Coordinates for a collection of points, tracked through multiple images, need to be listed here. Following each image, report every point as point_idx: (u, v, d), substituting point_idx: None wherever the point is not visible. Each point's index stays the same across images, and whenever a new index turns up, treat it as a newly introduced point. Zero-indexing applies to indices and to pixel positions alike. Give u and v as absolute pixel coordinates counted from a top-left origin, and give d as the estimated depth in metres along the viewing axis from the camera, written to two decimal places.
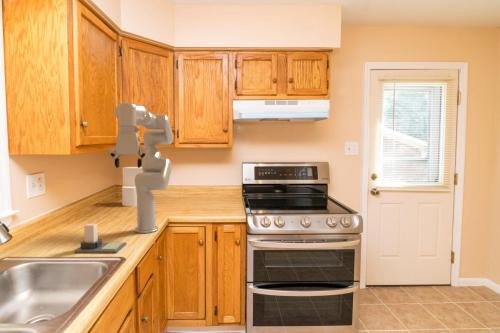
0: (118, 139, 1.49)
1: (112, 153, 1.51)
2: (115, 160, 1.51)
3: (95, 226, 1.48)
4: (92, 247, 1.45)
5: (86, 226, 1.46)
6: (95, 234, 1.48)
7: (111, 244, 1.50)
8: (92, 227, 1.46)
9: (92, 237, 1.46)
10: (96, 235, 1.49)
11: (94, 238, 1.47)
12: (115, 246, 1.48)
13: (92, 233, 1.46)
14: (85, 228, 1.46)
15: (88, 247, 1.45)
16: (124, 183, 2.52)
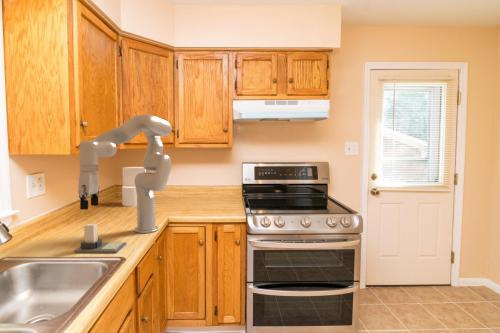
0: (90, 179, 1.43)
1: (83, 195, 1.40)
2: (85, 202, 1.41)
3: (95, 226, 1.48)
4: (92, 247, 1.45)
5: (86, 226, 1.46)
6: (95, 234, 1.48)
7: (111, 244, 1.50)
8: (92, 227, 1.46)
9: (92, 237, 1.46)
10: (96, 235, 1.49)
11: (94, 238, 1.47)
12: (115, 246, 1.48)
13: (92, 233, 1.46)
14: (85, 228, 1.46)
15: (88, 247, 1.45)
16: (124, 183, 2.52)
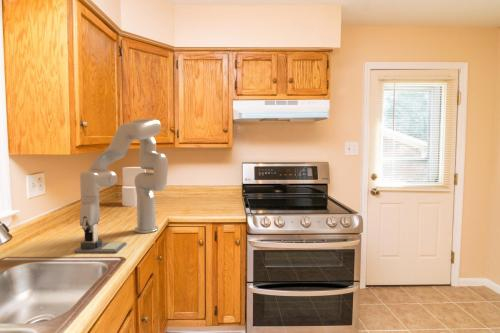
0: (91, 210, 1.44)
1: None
2: (89, 234, 1.45)
3: (95, 226, 1.48)
4: (92, 247, 1.45)
5: None
6: (95, 234, 1.48)
7: (111, 244, 1.50)
8: (92, 227, 1.46)
9: None
10: (96, 235, 1.49)
11: (94, 238, 1.47)
12: (115, 246, 1.48)
13: None
14: None
15: (88, 247, 1.45)
16: (124, 183, 2.52)
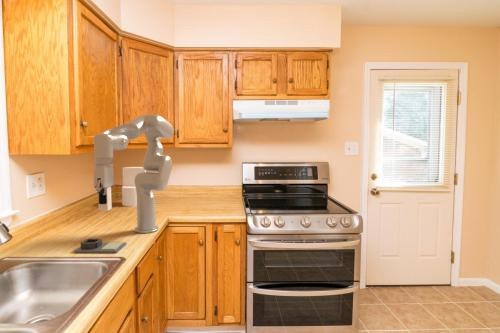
0: (105, 172, 1.43)
1: (102, 190, 1.43)
2: (103, 196, 1.44)
3: (109, 189, 1.47)
4: (92, 247, 1.45)
5: None
6: (109, 197, 1.47)
7: (111, 244, 1.50)
8: (106, 190, 1.45)
9: None
10: (110, 198, 1.48)
11: (108, 200, 1.46)
12: (115, 246, 1.48)
13: (106, 196, 1.45)
14: None
15: (88, 247, 1.45)
16: (124, 183, 2.52)
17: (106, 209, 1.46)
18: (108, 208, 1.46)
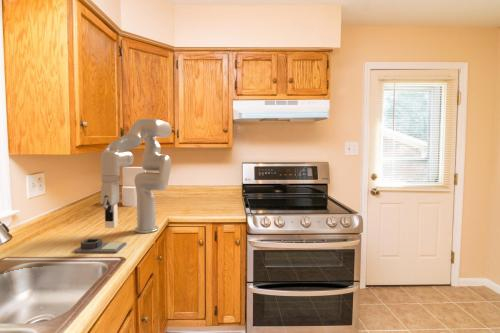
0: (112, 189, 1.43)
1: (108, 207, 1.43)
2: (110, 214, 1.44)
3: (115, 206, 1.47)
4: (92, 247, 1.45)
5: None
6: (115, 214, 1.47)
7: (111, 244, 1.50)
8: (112, 207, 1.45)
9: None
10: (116, 215, 1.48)
11: (114, 218, 1.46)
12: (115, 246, 1.48)
13: None
14: None
15: (88, 247, 1.45)
16: (124, 183, 2.52)
17: (112, 226, 1.46)
18: (114, 225, 1.47)
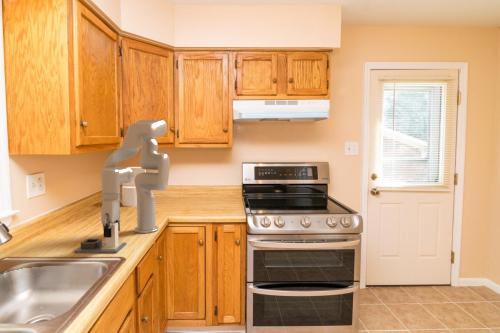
0: (113, 207, 1.44)
1: (107, 223, 1.41)
2: (108, 230, 1.43)
3: (116, 225, 1.48)
4: (92, 247, 1.45)
5: None
6: (116, 233, 1.48)
7: None
8: (113, 226, 1.46)
9: (113, 236, 1.47)
10: (117, 234, 1.49)
11: (115, 237, 1.47)
12: None
13: (113, 233, 1.46)
14: None
15: (88, 247, 1.45)
16: (124, 183, 2.52)
17: (113, 245, 1.47)
18: (115, 244, 1.48)
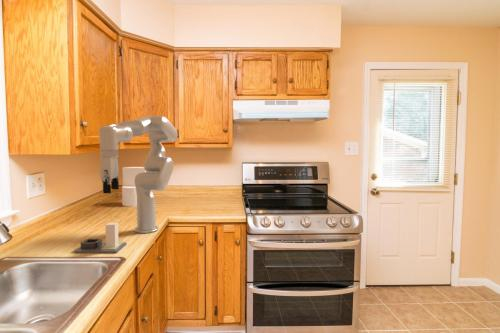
0: (111, 164, 1.46)
1: (106, 179, 1.44)
2: (108, 186, 1.46)
3: (116, 225, 1.48)
4: (92, 247, 1.45)
5: (107, 225, 1.46)
6: (116, 233, 1.48)
7: None
8: (113, 226, 1.46)
9: (113, 236, 1.47)
10: (117, 234, 1.49)
11: (115, 237, 1.47)
12: None
13: (113, 233, 1.46)
14: (106, 227, 1.46)
15: (88, 247, 1.45)
16: (124, 183, 2.52)
17: (113, 245, 1.47)
18: (115, 244, 1.48)
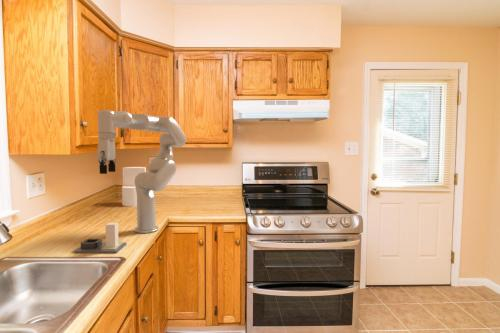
0: (108, 145, 1.53)
1: (103, 159, 1.50)
2: (104, 166, 1.51)
3: (116, 225, 1.48)
4: (92, 247, 1.45)
5: (107, 225, 1.46)
6: (116, 233, 1.48)
7: None
8: (113, 226, 1.46)
9: (113, 236, 1.47)
10: (117, 234, 1.49)
11: (115, 237, 1.47)
12: None
13: (113, 233, 1.46)
14: (106, 227, 1.46)
15: (88, 247, 1.45)
16: (124, 183, 2.52)
17: (113, 245, 1.47)
18: (115, 244, 1.48)
